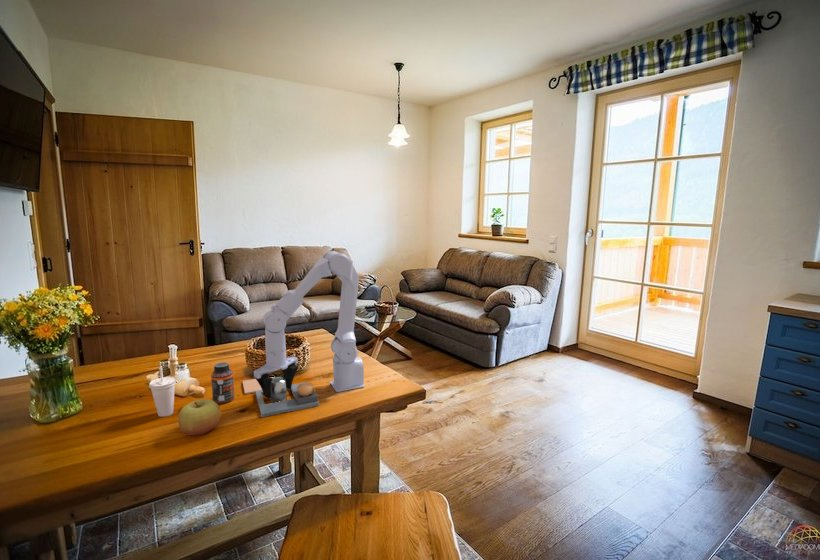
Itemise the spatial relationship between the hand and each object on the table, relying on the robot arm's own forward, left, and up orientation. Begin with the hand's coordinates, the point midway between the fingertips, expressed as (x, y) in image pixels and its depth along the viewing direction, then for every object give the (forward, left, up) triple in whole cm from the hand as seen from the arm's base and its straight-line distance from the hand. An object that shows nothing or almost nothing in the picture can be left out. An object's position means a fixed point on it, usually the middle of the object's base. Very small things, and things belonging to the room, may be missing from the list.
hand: (278, 392), depth 124 cm
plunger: (-7, +6, 0) cm, 9 cm away
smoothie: (+30, -4, -2) cm, 30 cm away
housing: (-2, +2, -2) cm, 3 cm away
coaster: (+4, -12, -2) cm, 13 cm away
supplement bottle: (+15, -6, -2) cm, 16 cm away
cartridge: (0, 0, -2) cm, 2 cm away
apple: (+21, +10, -2) cm, 23 cm away
